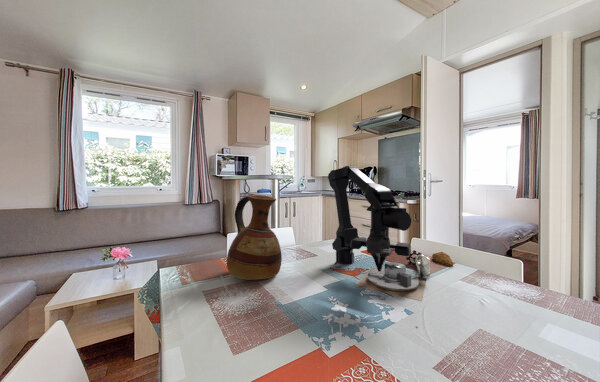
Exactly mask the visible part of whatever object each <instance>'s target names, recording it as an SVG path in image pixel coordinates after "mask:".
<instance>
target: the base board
mask: <svg viewBox="0 0 600 382" xmlns="http://www.w3.org/2000/svg"><path fill="white" fill-rule="evenodd" d="M373 269H377V267H370V269H369V270H368V271H367V272H365V274H364V275H363V276H362V277H361V279H360V280H359V281H358V282H357V283H356V284H355V286H354V287H357V288H362V289H365V290H369V291H375V292H380V293H383V294H388V295H392V296H398V297H401V298H406V299H410V300H415V301H418V302H419V301H420V302H422V301H423V298H424V294H425V288H426V284H427V280H421V279H419V286H418V288H416V289H414V290H411V291H391V290H386V289H382V288H379V287H377V286H375V285H373V284H372V283H370V282H369V280H368V272H369V271H371V270H373ZM414 275H415V274H414ZM415 276H417V274H416V275H415Z"/></svg>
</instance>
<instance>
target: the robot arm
mask: <svg viewBox="0 0 600 382" xmlns="http://www.w3.org/2000/svg"><path fill="white" fill-rule="evenodd" d="M327 179H328V182H329V185H330V188H331V189H332V190H333V191H334V196H335V204H336V213H337V220H338V221H337V222H338V227H337V230H336V232H335V233H336V235H335V236H336V238H335V239H334V240H333V241H332V243H331V245H332V249H333V250H335V262H334V265H335V266H336V265H337V264H338V263H340V264H342V265H348V264H349V265H353V264H355V253H354V250H360V249H361V248H362V247H364V248H365V247H366V252H367V253H368V254H370V255H371V256H372V258H373V260H374V264H375V266H376V268H377V269H378V271H380V272H381V270H382V268H384V265H385V263H386V262H385V261H386V260H387V257H388V256H391V254H392V253H393V252H395V254H396V255H397V256H401V257H409V255H410V253H412V246H411V244H410V243H406V242H400V241H399V242H397V243H396V244H392V243H391V239H390V236H389V235H390V229H393V230H398V231H408V230H409V228H411V225H412V218H411V216H410V213H408V212H407V208H406V207H400V206H399V205H398V203H397V200H396V199H395V197H394V195H393V192H392V191H391V189H390V188H388V187H387V186H384V185H382V184H379V183H376V182H374V181H373V180H372V179H371V178H370V177H368V176H367V175H366V174H365V173H363V172H362V171H361V170H360V169H359V168H358V166H355V165H345V166H343V167H340V168H337V169H331V170H330V171H329V173H328V174H327ZM350 181H352V182H353V183H354V184H355V186H357V187H358V188H359V189H360V190H361V191H362V192H363V193H364V198H365V200H367V202H368V203H369V205H370V206H368V207H367V208H366V211H368V212H370V229H369V235H368V237H367V239H366V238H364V237H359V233H358V228H357V227H354V226H353V224H352V219H351V213H350V206H349V205H350V204H349V199H348V193H347V192H348V190H347V189H348V186H349V184H350Z"/></svg>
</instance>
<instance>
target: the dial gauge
mask: <svg viewBox="0 0 600 382" xmlns="http://www.w3.org/2000/svg"><path fill="white" fill-rule="evenodd" d="M415 257H416V258H415V262H416V264H417V265H418V266H420V274H419V273H418V272H417V274H416V275H417V276H416V277H417V278H418V279H421V280H426V281H427V280H428V275H424V267H426V266H427V265H428V262H429V261H428V258H429V257H427V256H426V255H424V254H422V255H418V256H417V255H416V256H415ZM415 262H414V263H415Z"/></svg>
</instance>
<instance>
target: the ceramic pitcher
mask: <svg viewBox="0 0 600 382" xmlns="http://www.w3.org/2000/svg"><path fill="white" fill-rule="evenodd" d="M276 201H277V198H275V197H271V196H268V195H262V194H253V193H252V194H248V195H245V196H244V197H242V198H240V200H239V201H238V202H237V204H236V207H235V211H234V221H235V225H236V229H237V234H236V235H235V237H234V239H233V240H232V242H231V244H230V247H229V249H228V251H227V256H226V267H227V269H226V270H228V272H229V273H230V275H231V276H233V277H234V278H237V279H240V280H262V279H263V280H264V279H269V278H273V277H276V276H277V275H278V274H279V272H280V270H281V266H282V261H283V259H282V255H283V254H282V250H281V245H280V242H279V239H278V237H277V235H276V233H275V232H274V231H273V230H272V229H271V228H270V225H269V214H270V208H271V206H272V205H273V204H274V203H275V202H276ZM249 202H250V205H251V207H252V210H251V213H252V214H251V219H250V222H249V224H248V225H247V226H245V223H244V217H243V214H244V213H243V212H244V209H245V207H246V205H247V204H248V203H249Z"/></svg>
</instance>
